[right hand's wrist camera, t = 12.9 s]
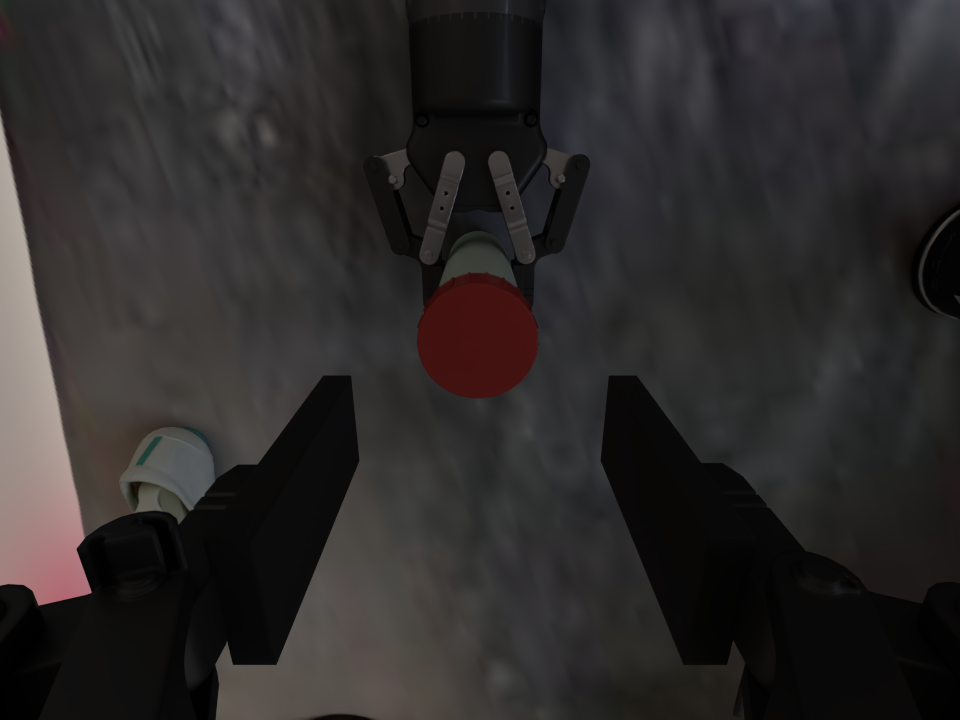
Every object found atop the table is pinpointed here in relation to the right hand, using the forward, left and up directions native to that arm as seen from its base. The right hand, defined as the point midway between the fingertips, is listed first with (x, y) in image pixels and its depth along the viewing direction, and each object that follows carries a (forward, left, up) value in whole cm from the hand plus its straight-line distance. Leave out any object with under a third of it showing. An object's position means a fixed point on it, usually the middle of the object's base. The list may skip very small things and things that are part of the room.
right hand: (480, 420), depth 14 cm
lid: (0, 0, -7) cm, 7 cm away
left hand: (0, -3, -21) cm, 21 cm away
